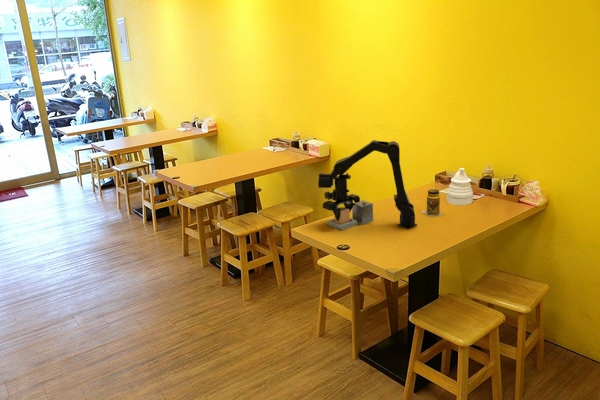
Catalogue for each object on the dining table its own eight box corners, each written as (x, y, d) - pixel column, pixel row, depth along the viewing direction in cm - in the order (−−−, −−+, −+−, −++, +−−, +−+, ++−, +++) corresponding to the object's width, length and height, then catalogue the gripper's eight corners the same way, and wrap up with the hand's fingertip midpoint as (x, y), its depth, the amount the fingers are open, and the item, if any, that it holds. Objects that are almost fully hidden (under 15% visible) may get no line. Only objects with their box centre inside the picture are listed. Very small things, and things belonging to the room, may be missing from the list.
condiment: (431, 217, 245) (431, 193, 242) (420, 212, 253) (421, 189, 249) (443, 214, 248) (444, 190, 244) (432, 209, 255) (433, 186, 252)
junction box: (373, 221, 244) (373, 202, 241) (363, 225, 240) (362, 205, 237) (362, 217, 250) (362, 198, 247) (351, 220, 247) (351, 202, 244)
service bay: (357, 225, 241) (357, 220, 240) (341, 230, 235) (341, 226, 235) (343, 219, 249) (343, 215, 248) (327, 225, 243) (327, 220, 242)
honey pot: (475, 204, 259) (477, 170, 253) (450, 205, 259) (451, 171, 254) (468, 196, 271) (469, 164, 265) (444, 198, 271) (445, 165, 266)
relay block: (349, 223, 241) (349, 208, 239) (341, 225, 238) (341, 210, 236) (342, 220, 245) (342, 206, 243) (334, 223, 242) (334, 208, 240)
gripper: (344, 180, 248) (345, 210, 252) (314, 188, 237) (316, 219, 242) (360, 184, 239) (361, 215, 244) (329, 193, 229) (331, 225, 233)
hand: (342, 219), depth 241 cm, fingers closed on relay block, 5 cm apart
